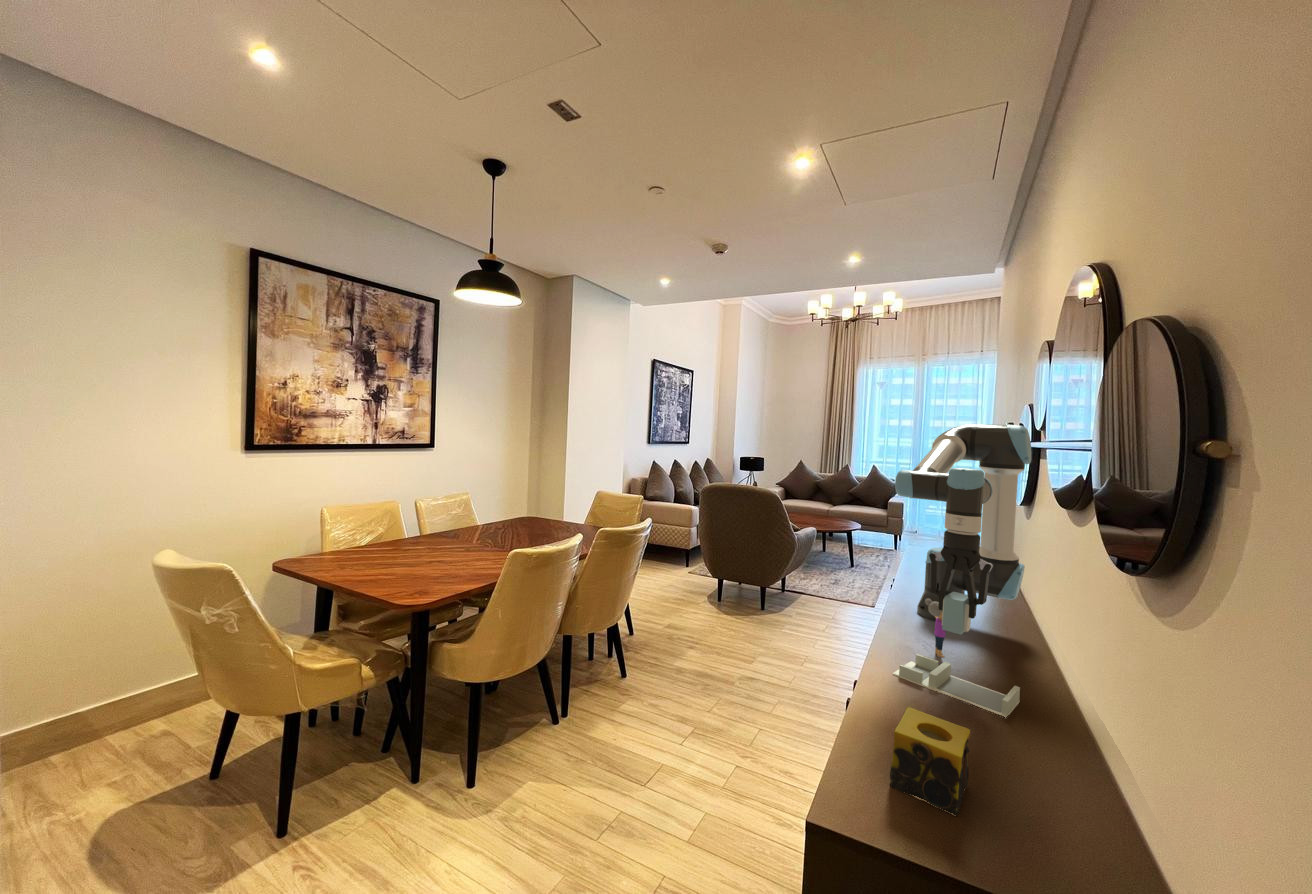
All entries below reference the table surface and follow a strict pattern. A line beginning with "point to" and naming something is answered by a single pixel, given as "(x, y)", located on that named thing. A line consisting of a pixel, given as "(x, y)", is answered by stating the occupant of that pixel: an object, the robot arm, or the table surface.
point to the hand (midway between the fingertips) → (955, 627)
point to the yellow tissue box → (930, 759)
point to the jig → (957, 685)
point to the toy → (937, 625)
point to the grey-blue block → (954, 612)
